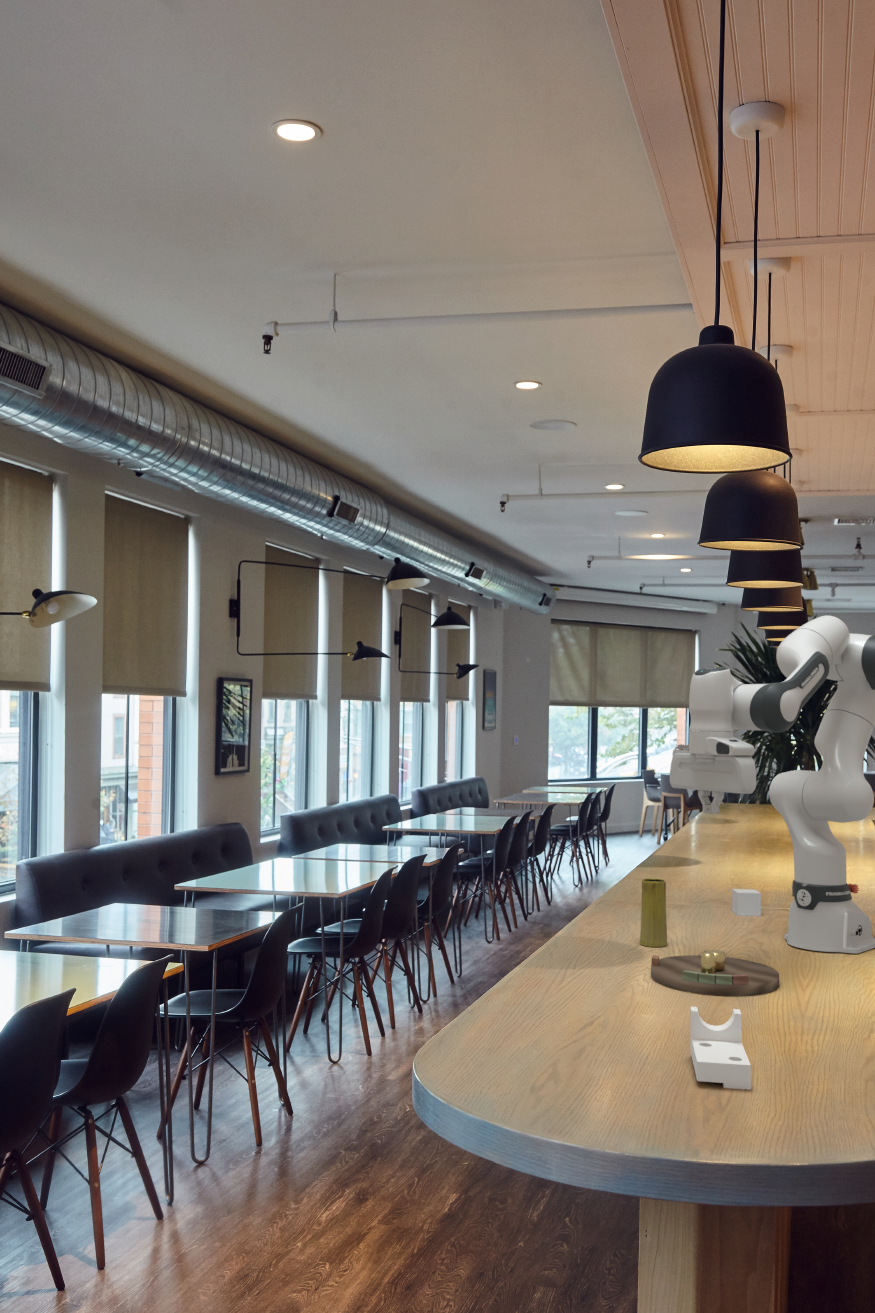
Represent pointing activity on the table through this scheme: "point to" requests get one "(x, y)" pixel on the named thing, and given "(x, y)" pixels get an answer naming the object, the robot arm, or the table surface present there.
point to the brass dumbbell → (712, 961)
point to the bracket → (719, 1051)
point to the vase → (653, 913)
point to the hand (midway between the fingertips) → (711, 813)
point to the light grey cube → (746, 902)
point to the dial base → (732, 967)
